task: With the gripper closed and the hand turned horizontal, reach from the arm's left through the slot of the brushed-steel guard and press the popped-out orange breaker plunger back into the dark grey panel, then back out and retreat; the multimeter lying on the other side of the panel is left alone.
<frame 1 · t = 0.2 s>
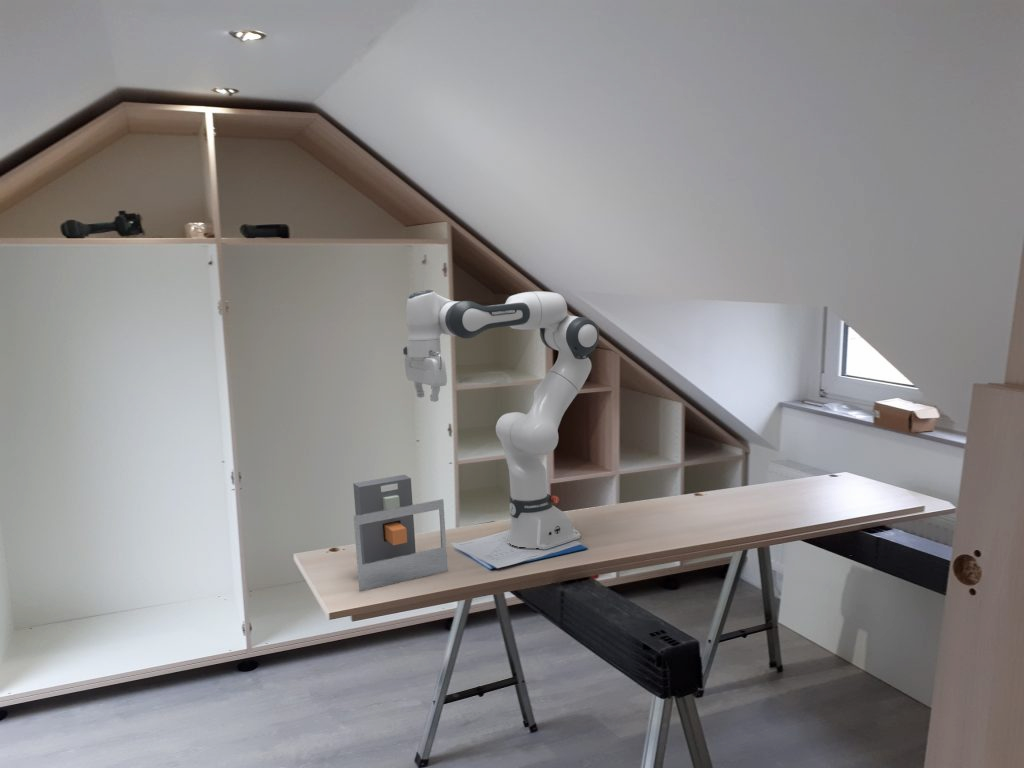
hand: (427, 399, 235), 48 cm above the table, tool pointing down, fingers open, 8 cm apart
digital multimeter: (389, 556, 251), on the table
guard: (397, 540, 231), on the table
panel: (388, 570, 237), on the table
plunger: (395, 533, 232), point 12 cm above the table, slide at 0.0 cm
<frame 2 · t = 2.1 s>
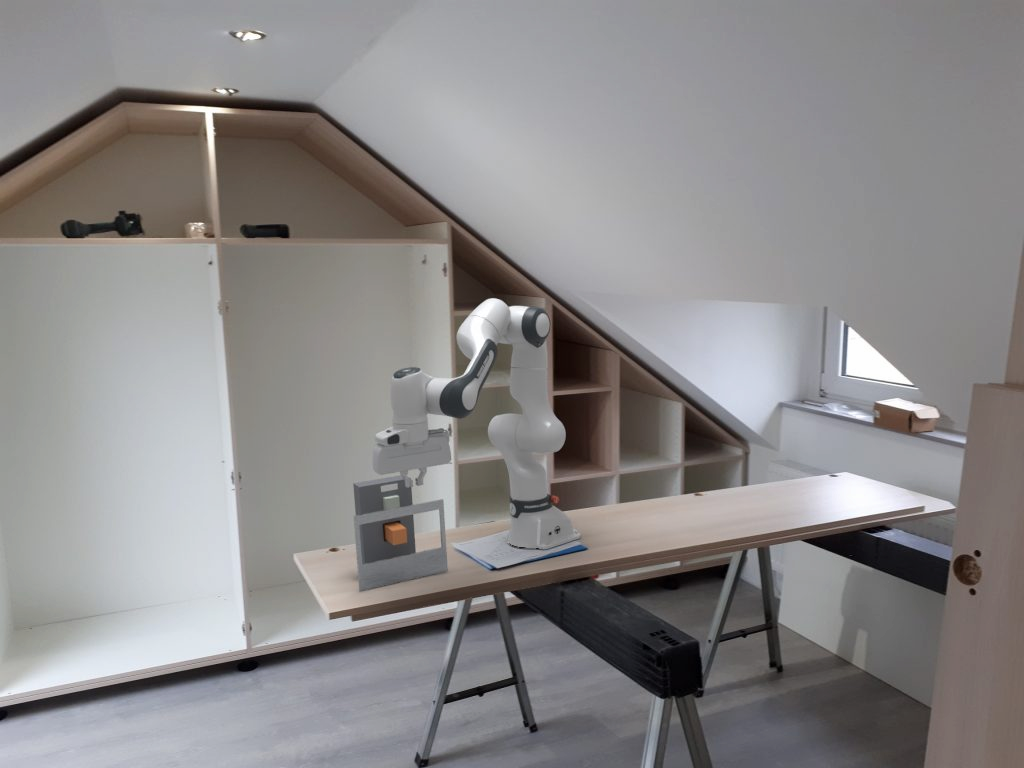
hand: (414, 485, 214), 29 cm above the table, tool pointing down, fingers closed
nothing on the table moved.
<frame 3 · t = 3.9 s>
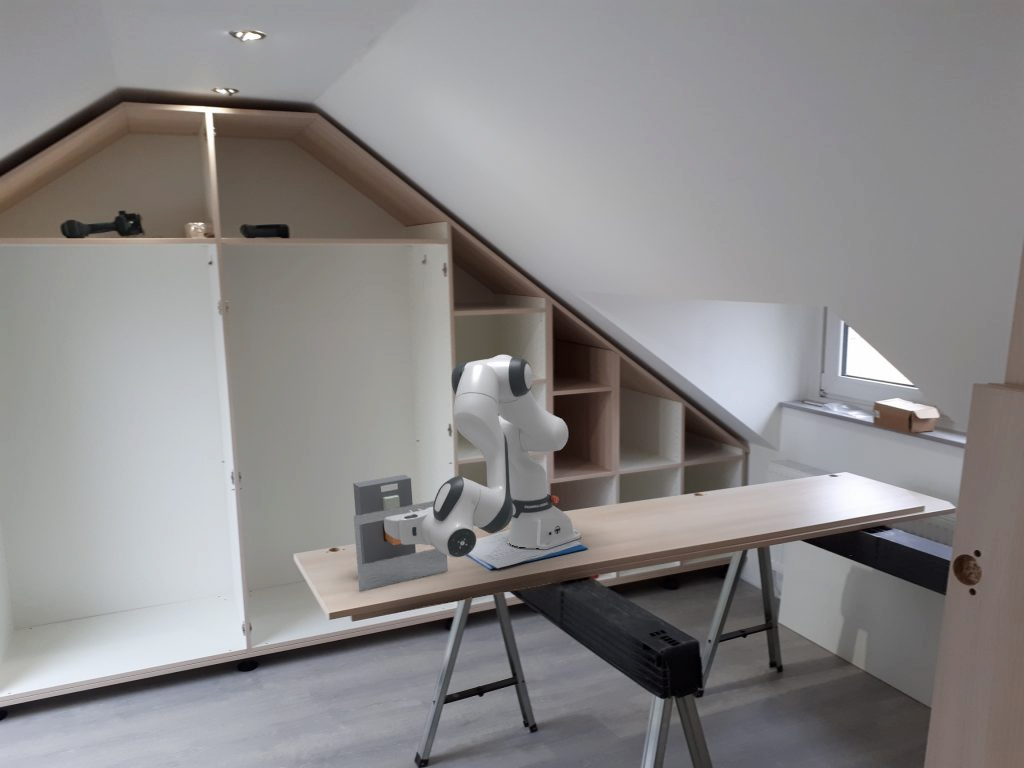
hand: (414, 512, 217), 22 cm above the table, tool horizontal, fingers closed
nothing on the table moved.
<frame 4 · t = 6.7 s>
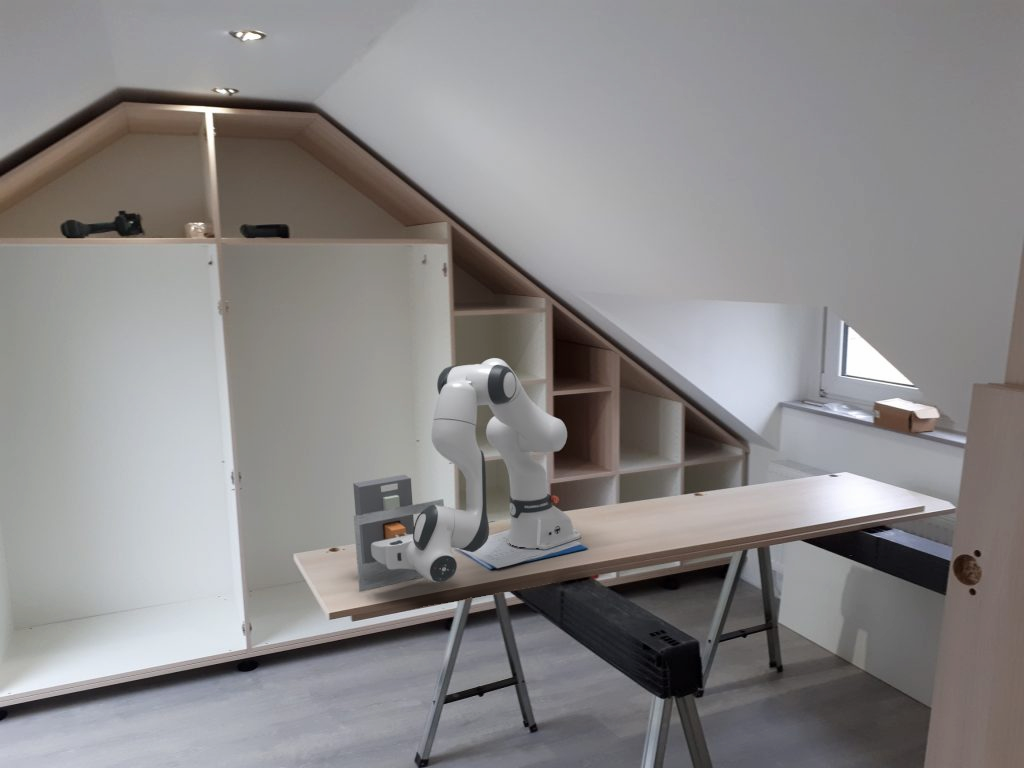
hand: (399, 536, 229), 12 cm above the table, tool horizontal, fingers closed, pressing on plunger
plunger: (394, 533, 232), point 12 cm above the table, slide at 0.4 cm, touching gripper
everything else where it was.
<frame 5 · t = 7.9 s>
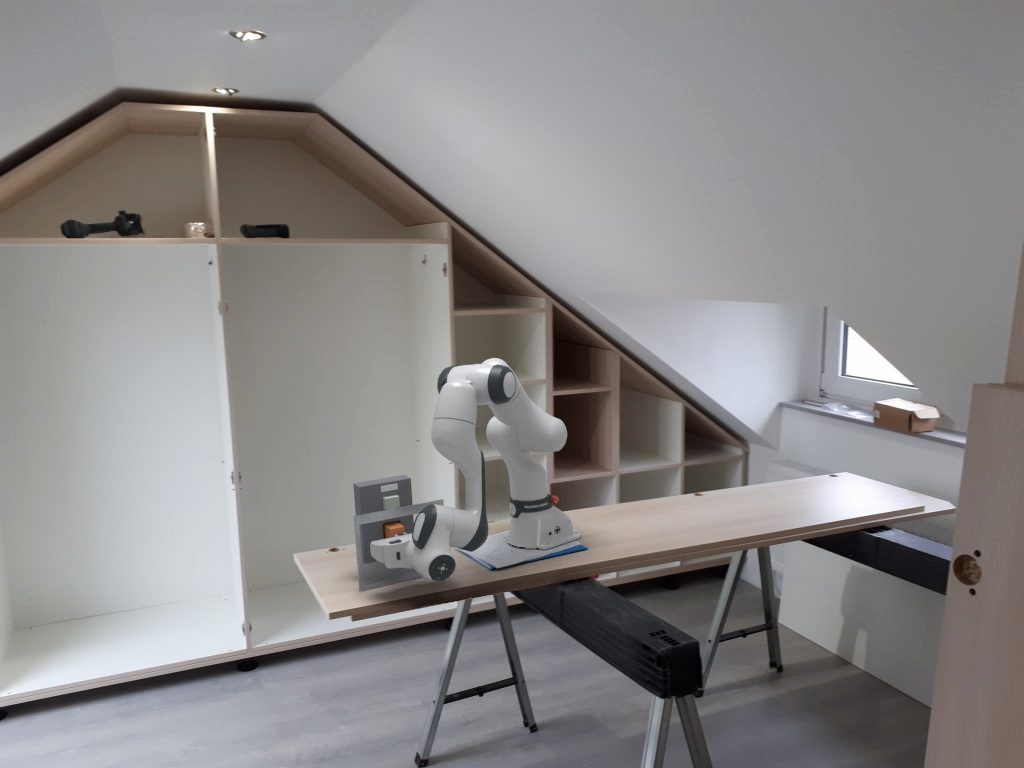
hand: (399, 536, 229), 12 cm above the table, tool horizontal, fingers closed
plunger: (393, 531, 233), point 12 cm above the table, slide at 1.7 cm
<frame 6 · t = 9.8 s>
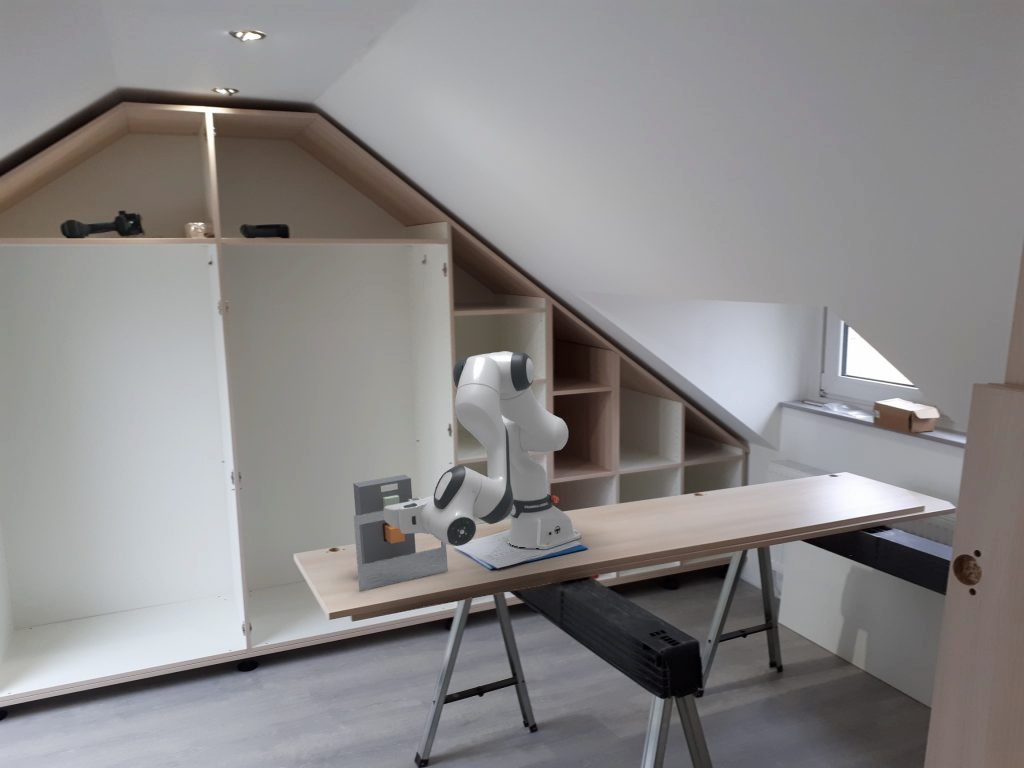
hand: (413, 501, 216), 25 cm above the table, tool horizontal, fingers closed
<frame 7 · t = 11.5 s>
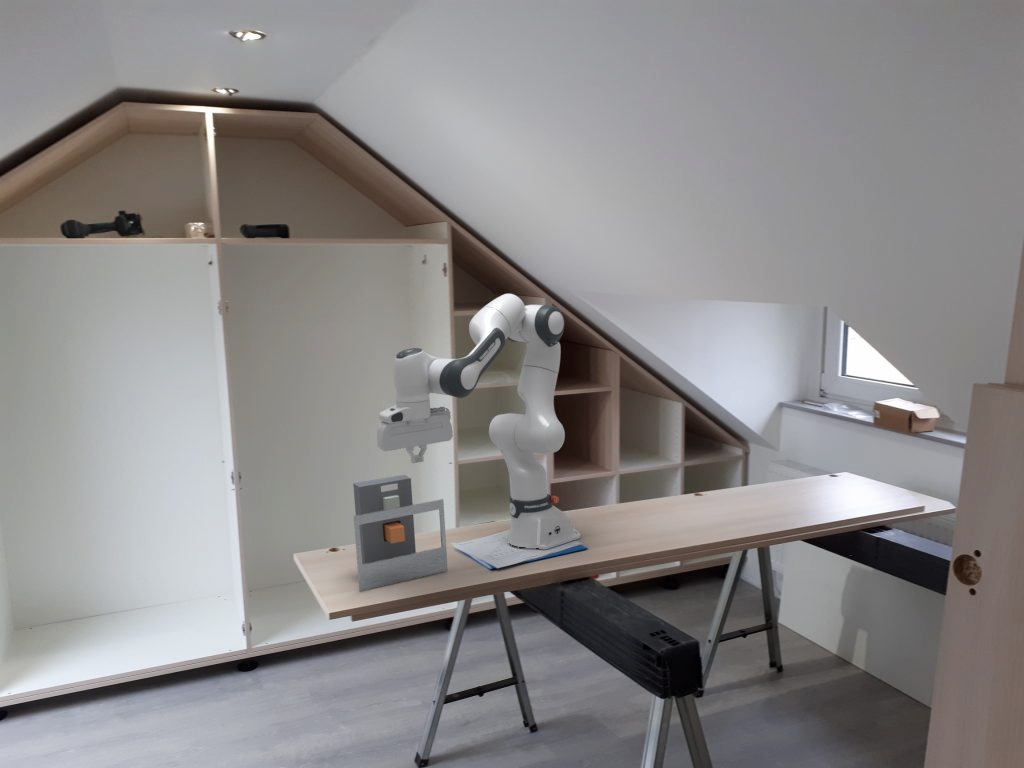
hand: (417, 462, 223), 33 cm above the table, tool pointing down, fingers closed
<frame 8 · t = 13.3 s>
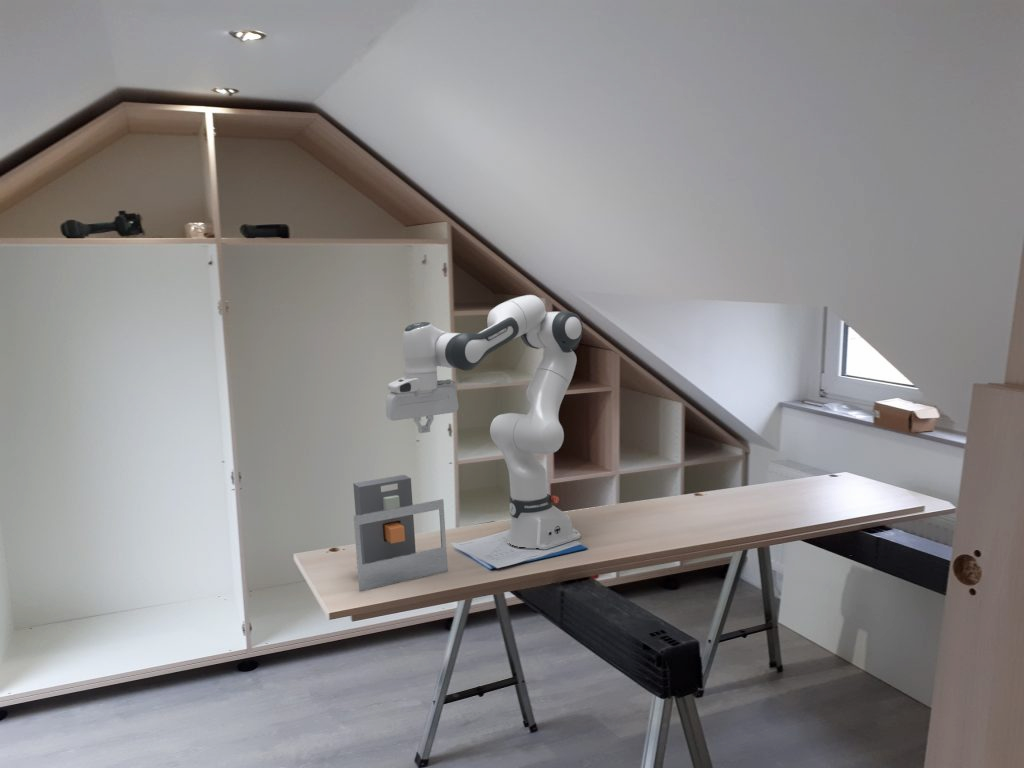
hand: (424, 432, 232), 39 cm above the table, tool pointing down, fingers closed
at the end: plunger slide at 1.7 cm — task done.
